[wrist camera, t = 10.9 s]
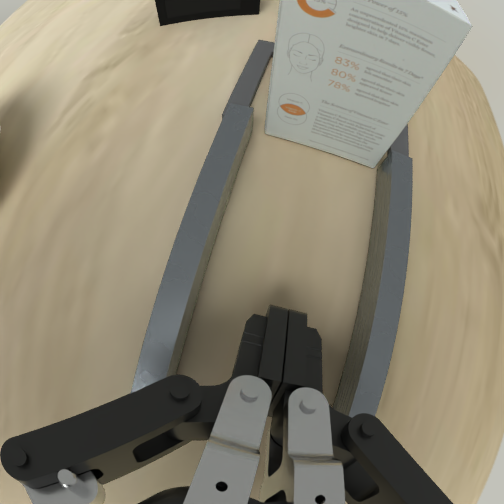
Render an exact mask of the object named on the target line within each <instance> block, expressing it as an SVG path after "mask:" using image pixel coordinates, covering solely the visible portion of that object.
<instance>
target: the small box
mask: <svg viewBox="0 0 504 504" xmlns="http://www.w3.org/2000/svg"><path fill="white" fill-rule="evenodd" d="M471 28H472V25H471V24H470V21H469V20H468V18H467V16H466V14H465V12H464V11H463V9H462V8H461V6H460V5H459V4H458V2H457V1H456V0H280V3H279V11H278V20H277V28H276V36H275V45H274V54H273V62H272V69H271V77H270V85H269V94H268V102H267V111H266V120H265V134H267V135H271V136H275V137H279V138H283V139H286V140H290V141H293V142H296V143H300V144H303V145H306V146H310V147H313V148H316V149H319V150H322V151H325V152H328V153H331V154H334V155H337V156H340V157H343V158H346V159H349V160H352V161H355V162H358V163H360V164H363V165H366V166H368V167H371V168H374V167H375V166H376V165H377V163H378V162H379V161H380V159H381V158H382V157H383V155H384V154H385V153H386V151H387V150H388V149H389V148H390V146H391V145H392V144H393V142H394V141H395V140H396V138H397V137H398V136H399V134H400V133H401V132H402V130H403V129H404V127H405V126H406V125H407V123H408V122H409V120H410V119H411V118H412V116H413V115H414V113H415V112H416V110H417V109H418V108H419V106H420V105H421V103H422V102H423V100H424V99H425V97H426V96H427V95H428V93H429V92H430V90H431V89H432V87H433V86H434V84H435V83H436V81H437V80H438V78H439V77H440V76H441V74H442V73H443V71H444V70H445V68H446V67H447V65H448V64H449V62H450V61H451V59H452V58H453V56H454V55H455V53H456V51H457V50H458V48H459V47H460V45H461V44H462V42H463V41H464V39H465V37H466V36H467V34H468V33H469V31H470V30H471Z"/></svg>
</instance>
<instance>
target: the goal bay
mask: <svg viewBox="0 0 504 504" xmlns="http://www.w3.org/2000/svg"><path fill="white" fill-rule="evenodd" d="M274 45H275V43H273V42H268V41H263V40H258V42H257V44H256V46H255V48H254V50H253V52H252V54H251V56H250V58H249V60H248V62H247V64H246V66H245V68H244V70H243V72H242V74H241V76H240V78H239V80H238V82H237V84H236V86H235V88H234V90H233V92H232V94H231V96H230V98H229V101H228V103H227V105H226V107H225V109H224V111H223V114H222V120H223V118H224V115H225V113H226V111H227V109H228V106H229V104H230V103H232V104H237V105H242V106H247V107H250V106H251V103H252V101H253V98H254V96H255V93H256V91H257V89H258V86H259V84H260V81H261V79H262V77H263V74H264V72H265V69H266V67H267V65H268V62H269V60H270V58H271V56H272V57H273V54H274ZM392 150H393V151H395V152H398V153H400V154H403V155H405V156H408V157H409V149H408V124H407V125H406V126H405V127H404V129H403V130H402V132H401V133H400V134H399V136H398V137H397V138H396V140H395V141H394V142H393V144H392V145H391V146H390V148H389V149H388V155H389V154H390V153H391V151H392Z"/></svg>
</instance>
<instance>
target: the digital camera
mask: <svg viewBox="0 0 504 504" xmlns="http://www.w3.org/2000/svg"><path fill="white" fill-rule="evenodd" d="M155 2H156V7H157V12H158V17H159V22H160V26H163V25H168V24H173V23H179V22H185V21H191V20H198V19H206V18H214V17H224V16H236V15H254V14H259V6H260V0H155Z"/></svg>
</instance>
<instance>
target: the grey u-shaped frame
mask: <svg viewBox="0 0 504 504" xmlns="http://www.w3.org/2000/svg"><path fill="white" fill-rule="evenodd" d="M253 110H254V108H252V107H247V106H242V105H237V104H232V103H230V104H229V106H228V109H227V111H226V113H225V115H224V118H223V120H222V122H221V124H220V127H219V129H218V131H217V134H216V136H215V138H214V141H213V143H212V145H211V148H210V150H209V153H208V155H207V157H206V160H205V162H204V165H203V167H202V170H201V172H200V175H199V177H198V180H197V182H196V185H195V187H194V190H193V193H192V195H191V198H190V201H189V203H188V206H187V209H186V211H185V214H184V217H183V220H182V222H181V225H180V228H179V231H178V234H177V236H176V239H175V242H174V245H173V248H172V251H171V254H170V257H169V260H168V263H167V266H166V269H165V272H164V275H163V278H162V281H161V285H160V288H159V291H158V294H157V297H156V301H155V304H154V307H153V311H152V314H151V318H150V321H149V325H148V328H147V332H146V335H145V339H144V343H143V346H142V350H141V354H140V358H139V362H138V365H137V369H136V373H135V377H134V382H133V386H132V390H131V393H132V392H135V391H137V390H139V389H142V388H144V387H146V386H148V385H150V384H153V383H155V382H157V381H159V380H161V379H164V378H166V377H168V376H171V375H176V371H177V368H178V364H179V360H180V357H181V353H182V350H183V346H184V342H185V339H186V335H187V332H188V328H189V325H190V321H191V318H192V314H193V311H194V308H195V304H196V301H197V297H198V294H199V291H200V287H201V284H202V281H203V278H204V274H205V271H206V268H207V265H208V261H209V258H210V255H211V252H212V249H213V245H214V242H215V239H216V236H217V233H218V230H219V227H220V224H221V220H222V217H223V214H224V211H225V208H226V205H227V202H228V199H229V196H230V193H231V190H232V187H233V184H234V181H235V179H236V176H237V173H238V170H239V167H240V164H241V161H242V158H243V155H244V153H245V150H246V147H247V144H248V141H249V139H250V136H251V133H252V123H253ZM411 212H412V158H410V157H408V156H405V155H403V154H400V153H398V152H395V151H393V150H392V151H391V153H390V154H389V155H388V157H387V158H386V159H385V160H384V162H383V163H382V164H381V165H380V167H379V168H378V169H377V182H376V193H375V203H374V213H373V221H372V229H371V237H370V244H369V251H368V257H367V264H366V270H365V276H364V281H363V287H362V292H361V297H360V302H359V307H358V312H357V317H356V322H355V326H354V331H353V335H352V339H351V343H350V348H349V352H348V356H347V360H346V363H345V367H344V371H343V375H342V378H341V382H340V385H339V389H338V392H337V396H336V399H335V402H334V406H333V409H335V410H336V411H338V412H340V413H343V414H345V415H347V416H349V417H352V418H353V417H354V416H355V415H357V414H361V413H367V414H371V415H373V416H375V414H376V411H377V408H378V405H379V401H380V398H381V394H382V391H383V387H384V384H385V380H386V376H387V372H388V368H389V364H390V360H391V356H392V352H393V347H394V342H395V338H396V333H397V328H398V323H399V317H400V311H401V306H402V299H403V293H404V286H405V279H406V271H407V262H408V253H409V242H410V229H411Z"/></svg>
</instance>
